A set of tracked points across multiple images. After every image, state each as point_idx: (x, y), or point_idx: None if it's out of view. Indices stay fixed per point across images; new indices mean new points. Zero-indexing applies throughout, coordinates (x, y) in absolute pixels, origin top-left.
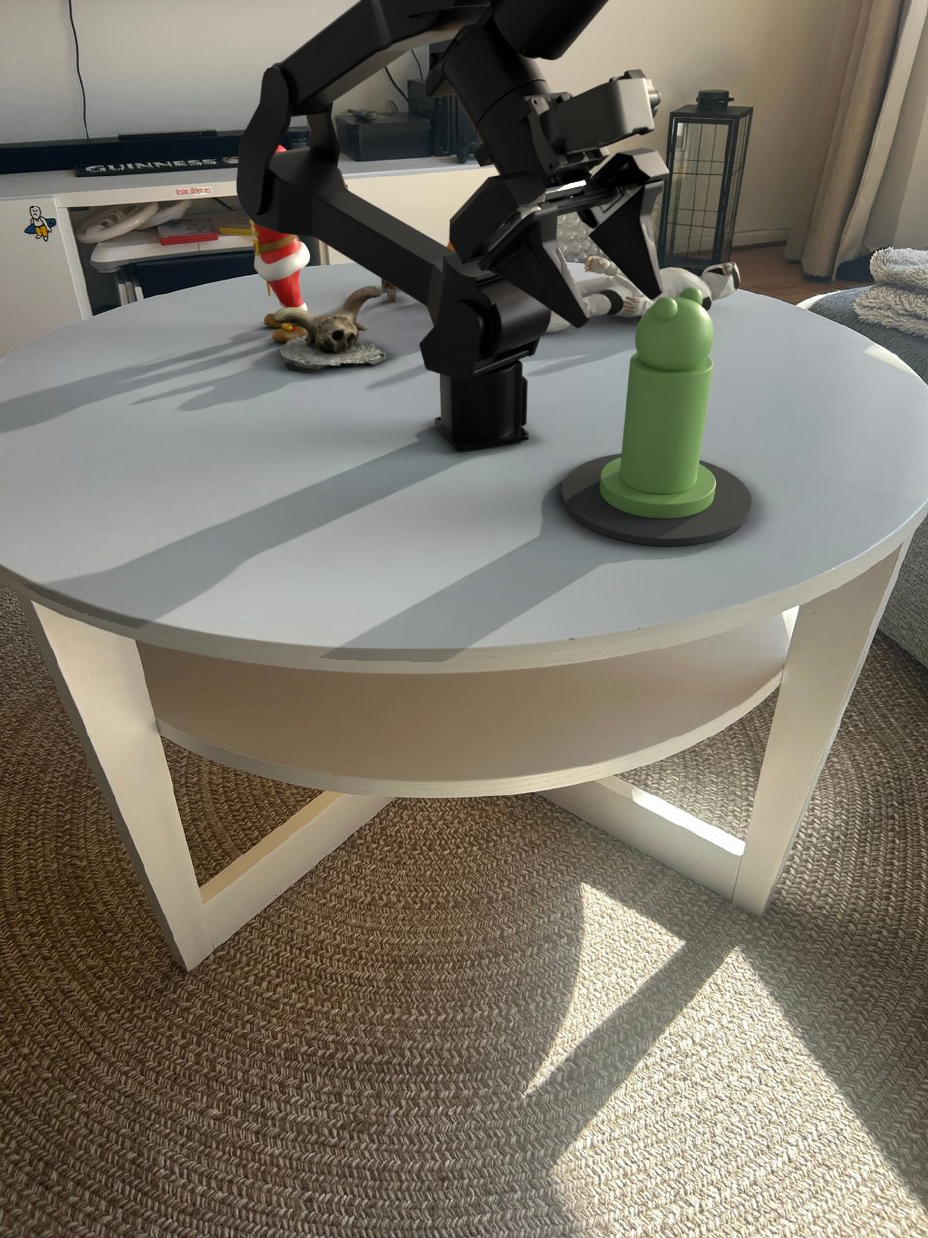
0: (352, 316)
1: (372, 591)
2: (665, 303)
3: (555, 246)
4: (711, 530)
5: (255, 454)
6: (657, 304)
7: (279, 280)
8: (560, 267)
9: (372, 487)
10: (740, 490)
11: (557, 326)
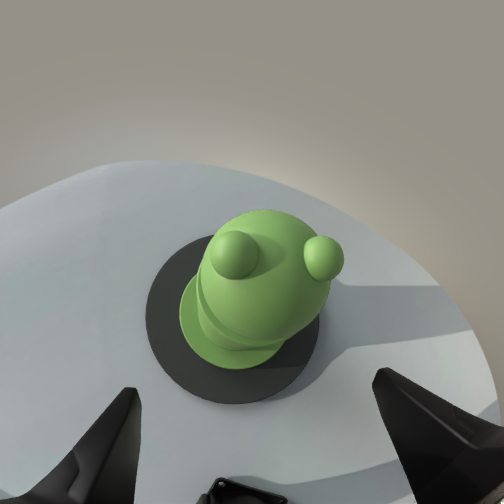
0: None
1: (447, 362)
2: (339, 246)
3: (476, 438)
4: None
5: None
6: (342, 262)
7: None
8: (457, 413)
9: (374, 481)
10: (180, 258)
11: None
